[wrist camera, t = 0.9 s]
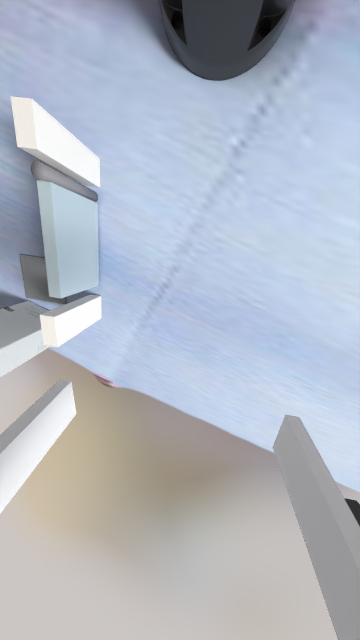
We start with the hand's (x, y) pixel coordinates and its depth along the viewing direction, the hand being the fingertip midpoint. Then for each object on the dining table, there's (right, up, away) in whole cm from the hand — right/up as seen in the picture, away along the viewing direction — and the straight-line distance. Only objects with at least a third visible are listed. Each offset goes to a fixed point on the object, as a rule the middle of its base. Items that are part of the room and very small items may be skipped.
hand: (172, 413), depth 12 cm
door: (-15, +19, +20) cm, 31 cm away
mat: (-25, +13, +24) cm, 37 cm away
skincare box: (-27, +6, +27) cm, 39 cm away
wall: (-14, +18, +21) cm, 31 cm away
